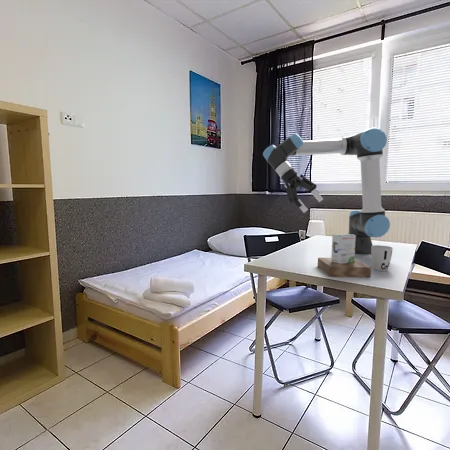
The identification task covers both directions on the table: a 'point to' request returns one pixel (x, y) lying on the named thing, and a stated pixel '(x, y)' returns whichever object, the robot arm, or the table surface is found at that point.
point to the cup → (381, 257)
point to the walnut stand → (344, 268)
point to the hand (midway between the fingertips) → (313, 205)
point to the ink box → (343, 248)
